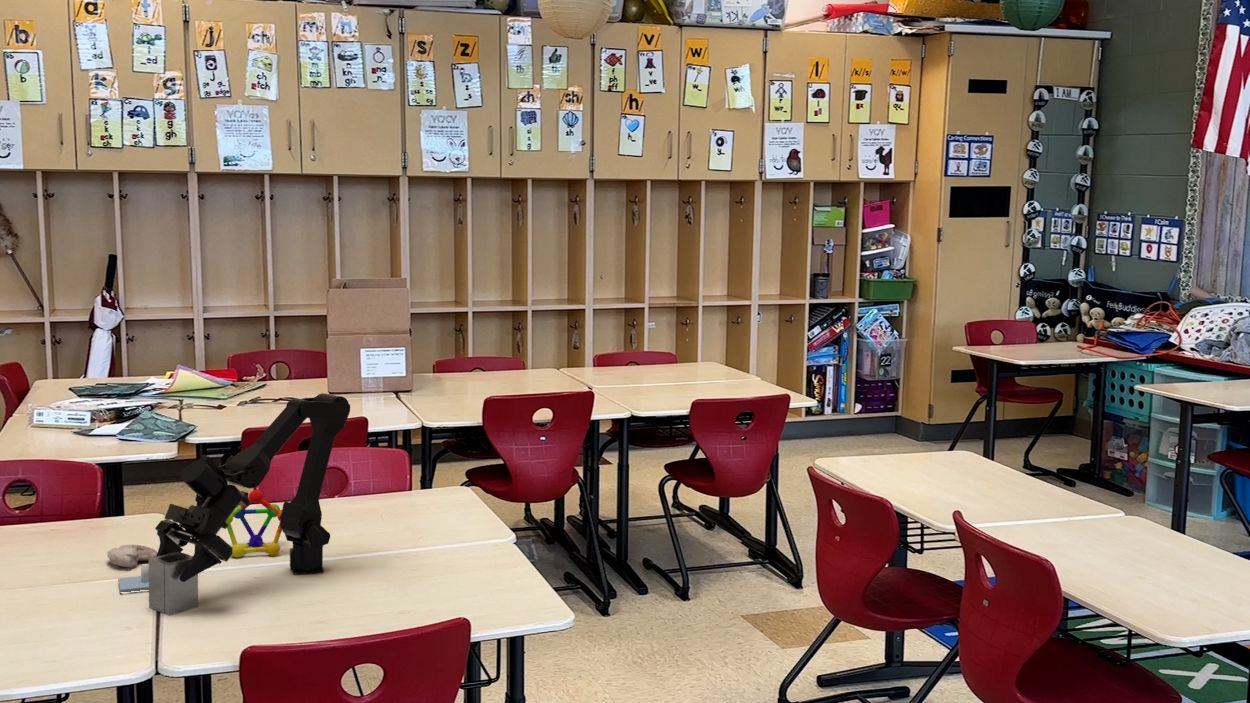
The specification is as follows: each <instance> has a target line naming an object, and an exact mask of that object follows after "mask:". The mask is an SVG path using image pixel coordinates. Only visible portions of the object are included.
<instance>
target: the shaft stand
mask: <svg viewBox="0 0 1250 703" xmlns="http://www.w3.org/2000/svg"><path fill="white" fill-rule="evenodd" d="M117 580H118V581H117V583H118V582H119V584H118V588H119V587H120V589H119V593H120V592H131V591H140V590H149V563H143V564H140V576H139V575H138V576H129V577H118V578H117Z"/></svg>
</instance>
